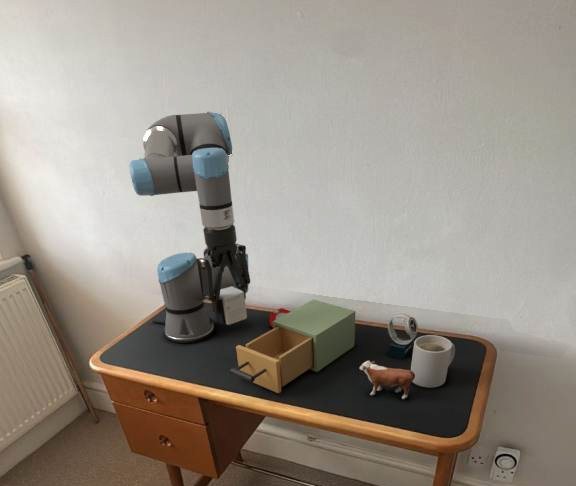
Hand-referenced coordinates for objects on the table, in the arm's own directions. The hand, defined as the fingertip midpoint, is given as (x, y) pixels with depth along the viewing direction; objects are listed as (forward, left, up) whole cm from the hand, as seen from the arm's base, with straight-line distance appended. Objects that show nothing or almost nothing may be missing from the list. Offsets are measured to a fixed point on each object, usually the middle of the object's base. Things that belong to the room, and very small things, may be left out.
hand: (231, 317), depth 123 cm
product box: (0, 0, -1) cm, 1 cm away
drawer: (+15, -1, -12) cm, 19 cm away
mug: (+48, +23, -13) cm, 55 cm away
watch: (+35, +30, -13) cm, 48 cm away
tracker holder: (-3, +26, -13) cm, 29 cm away
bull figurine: (+42, +10, -13) cm, 45 cm away
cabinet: (+15, +17, -13) cm, 26 cm away
